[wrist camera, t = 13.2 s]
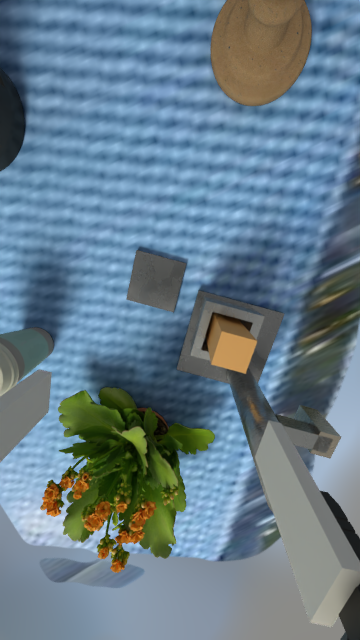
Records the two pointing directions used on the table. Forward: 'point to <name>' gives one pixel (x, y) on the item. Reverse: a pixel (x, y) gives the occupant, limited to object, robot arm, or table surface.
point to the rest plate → (155, 281)
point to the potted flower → (123, 473)
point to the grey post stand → (252, 376)
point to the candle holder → (260, 48)
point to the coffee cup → (22, 354)
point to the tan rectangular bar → (229, 343)
